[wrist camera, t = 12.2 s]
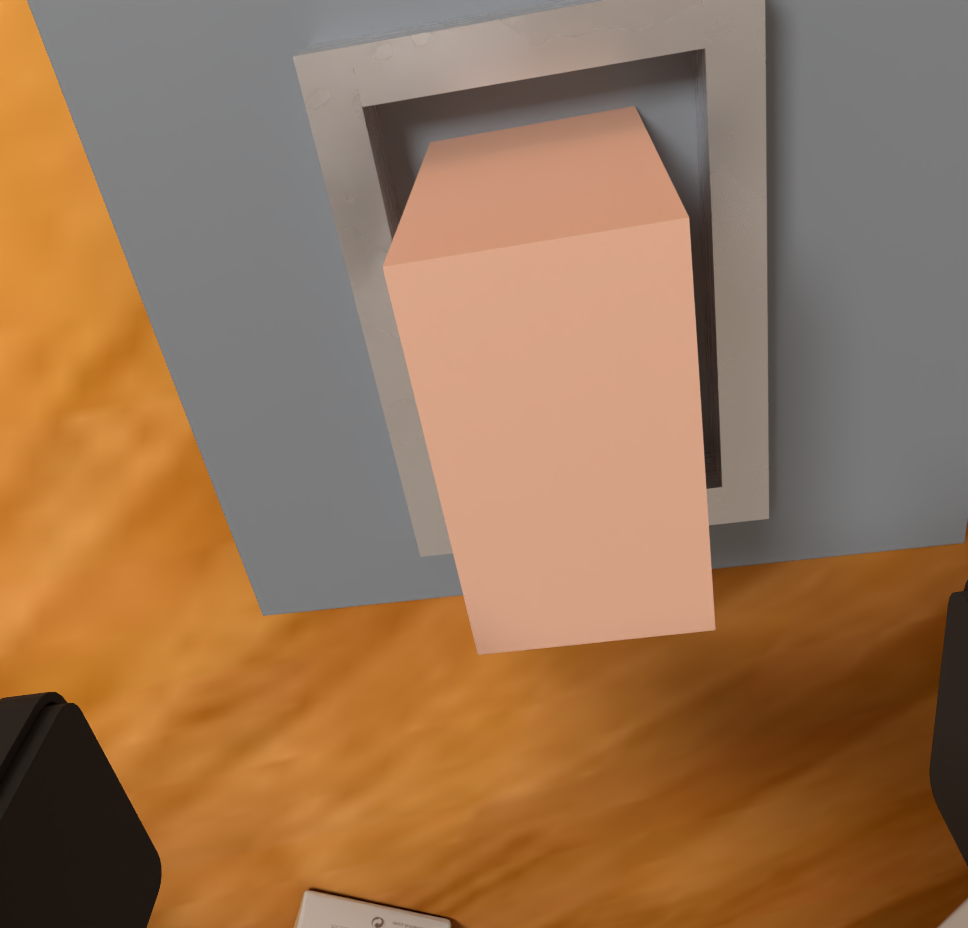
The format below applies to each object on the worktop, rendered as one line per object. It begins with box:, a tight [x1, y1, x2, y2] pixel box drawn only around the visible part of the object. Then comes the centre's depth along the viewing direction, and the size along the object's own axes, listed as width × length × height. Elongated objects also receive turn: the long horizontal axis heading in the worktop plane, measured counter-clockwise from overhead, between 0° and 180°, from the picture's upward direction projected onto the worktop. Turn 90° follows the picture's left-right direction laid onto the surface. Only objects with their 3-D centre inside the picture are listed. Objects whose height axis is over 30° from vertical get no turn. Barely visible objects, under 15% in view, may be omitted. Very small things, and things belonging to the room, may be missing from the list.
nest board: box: [27, 0, 968, 616], centre depth 19 cm, size 18×16×2 cm
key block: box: [383, 106, 715, 655], centre depth 17 cm, size 7×4×7 cm, turn 10°
